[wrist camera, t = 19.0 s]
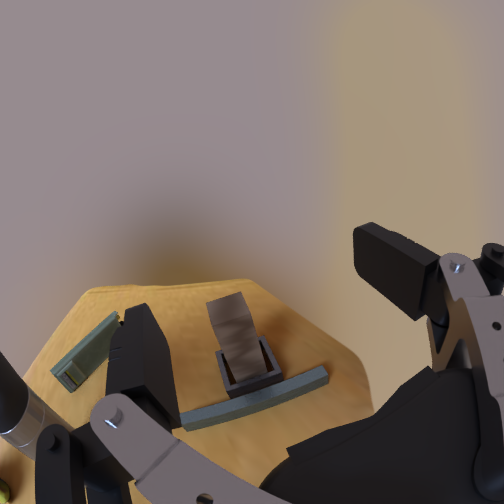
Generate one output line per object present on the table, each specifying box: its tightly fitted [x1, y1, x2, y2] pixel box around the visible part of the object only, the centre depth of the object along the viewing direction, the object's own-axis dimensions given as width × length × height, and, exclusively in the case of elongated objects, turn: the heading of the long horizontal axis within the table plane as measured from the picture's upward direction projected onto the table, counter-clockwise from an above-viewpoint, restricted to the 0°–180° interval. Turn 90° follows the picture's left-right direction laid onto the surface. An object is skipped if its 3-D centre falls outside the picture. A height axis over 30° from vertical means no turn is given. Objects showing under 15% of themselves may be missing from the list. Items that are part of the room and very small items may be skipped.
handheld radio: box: [50, 311, 124, 393], centre depth 48 cm, size 7×3×25 cm
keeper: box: [180, 335, 328, 432], centre depth 39 cm, size 22×12×2 cm, turn 106°
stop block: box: [206, 292, 268, 383], centre depth 38 cm, size 5×5×14 cm
